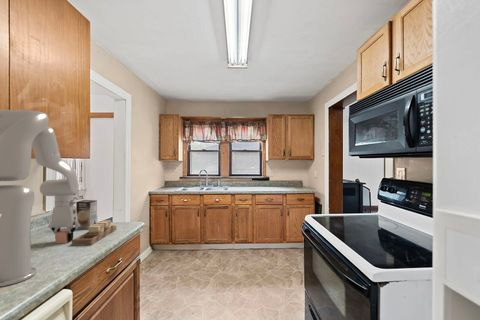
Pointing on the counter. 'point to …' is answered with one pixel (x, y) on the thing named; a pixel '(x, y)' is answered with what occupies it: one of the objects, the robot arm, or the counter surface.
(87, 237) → the walnut tray
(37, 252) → the counter surface
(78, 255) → the counter surface
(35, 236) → the counter surface
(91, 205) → the coffee box
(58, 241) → the brick cube
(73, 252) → the counter surface
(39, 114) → the robot arm
